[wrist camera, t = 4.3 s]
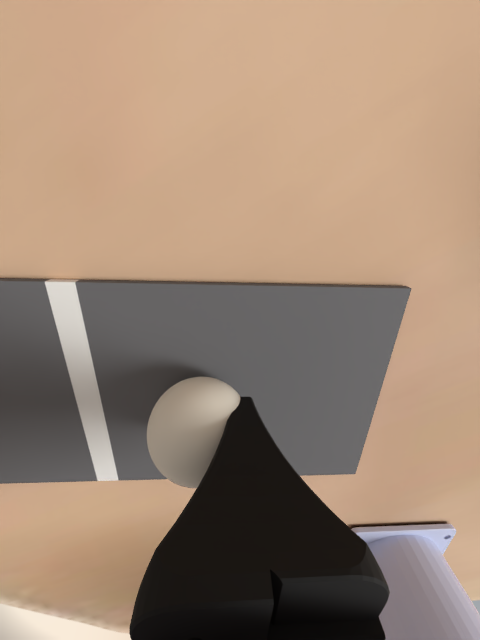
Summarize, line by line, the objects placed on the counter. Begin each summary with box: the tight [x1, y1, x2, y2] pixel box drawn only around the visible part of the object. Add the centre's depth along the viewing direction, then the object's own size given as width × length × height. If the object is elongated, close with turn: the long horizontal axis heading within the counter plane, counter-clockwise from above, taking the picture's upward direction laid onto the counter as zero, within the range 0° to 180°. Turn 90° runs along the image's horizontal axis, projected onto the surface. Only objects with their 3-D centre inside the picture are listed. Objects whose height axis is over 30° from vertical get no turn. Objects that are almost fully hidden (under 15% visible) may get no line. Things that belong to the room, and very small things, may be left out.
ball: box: [147, 377, 240, 488], centre depth 11 cm, size 4×4×4 cm
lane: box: [0, 278, 411, 484], centre depth 13 cm, size 12×25×1 cm, turn 88°
